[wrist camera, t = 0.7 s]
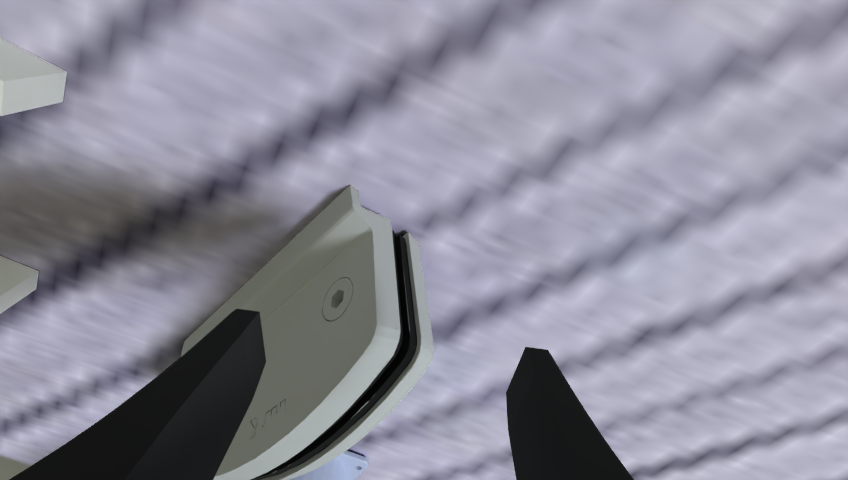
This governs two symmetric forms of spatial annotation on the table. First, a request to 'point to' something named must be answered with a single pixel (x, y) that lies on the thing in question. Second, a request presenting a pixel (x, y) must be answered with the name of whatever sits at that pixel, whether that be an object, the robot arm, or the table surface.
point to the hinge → (328, 341)
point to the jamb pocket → (14, 92)
